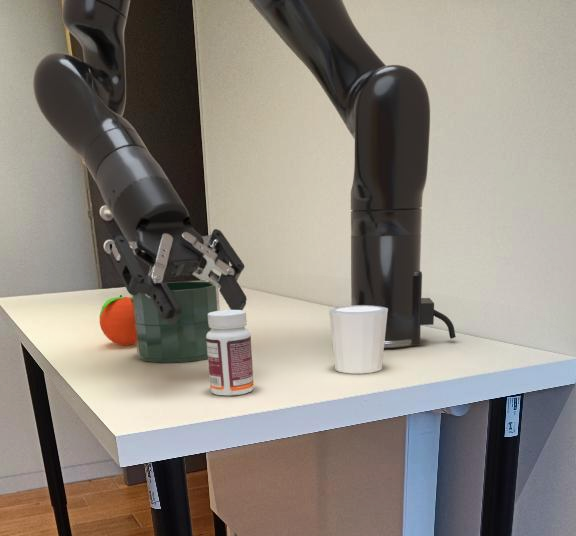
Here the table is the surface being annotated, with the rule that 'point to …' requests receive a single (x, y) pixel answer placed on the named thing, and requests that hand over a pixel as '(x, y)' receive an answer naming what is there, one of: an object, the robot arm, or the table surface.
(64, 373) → the table surface
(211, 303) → the pot
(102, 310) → the clementine
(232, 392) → the pill bottle
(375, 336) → the shot glass
